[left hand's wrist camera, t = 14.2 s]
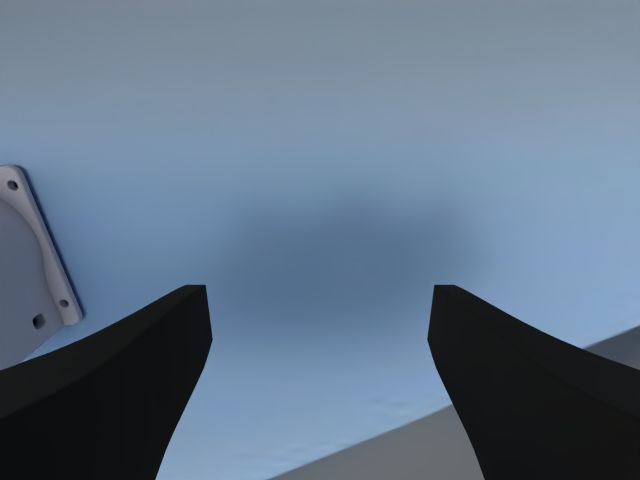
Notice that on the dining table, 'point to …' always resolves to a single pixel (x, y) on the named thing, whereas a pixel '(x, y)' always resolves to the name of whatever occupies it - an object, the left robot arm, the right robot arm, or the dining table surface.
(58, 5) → the dining table surface
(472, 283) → the dining table surface
